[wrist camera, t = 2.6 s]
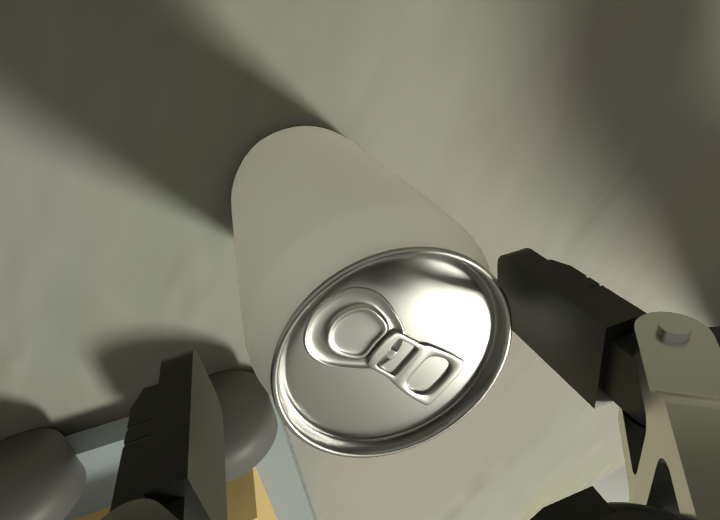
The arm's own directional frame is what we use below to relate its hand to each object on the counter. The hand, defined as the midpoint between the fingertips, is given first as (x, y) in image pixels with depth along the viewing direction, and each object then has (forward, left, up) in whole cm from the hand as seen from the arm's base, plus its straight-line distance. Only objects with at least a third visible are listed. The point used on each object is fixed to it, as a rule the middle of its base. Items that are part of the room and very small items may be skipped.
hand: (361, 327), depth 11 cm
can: (0, 0, -10) cm, 10 cm away
